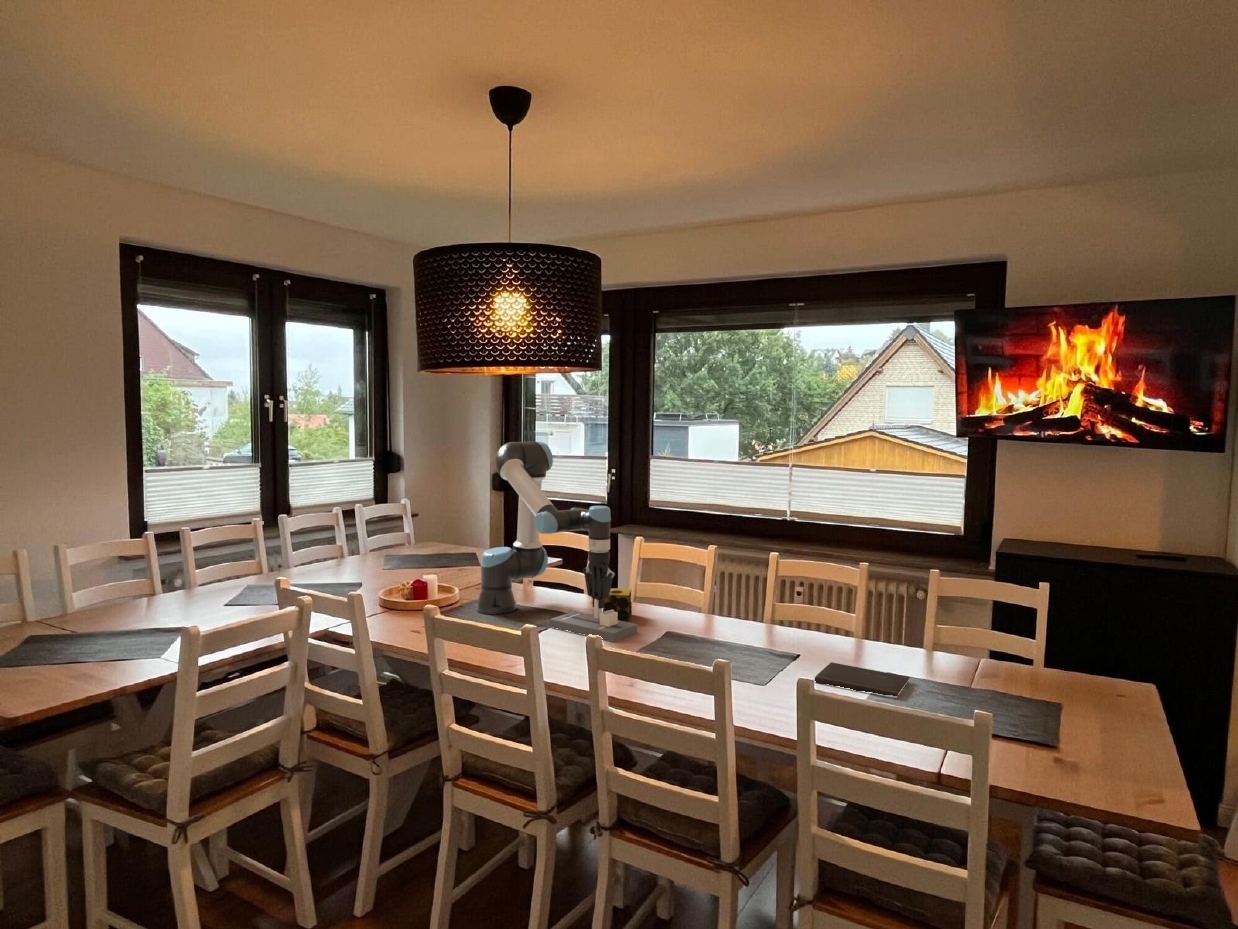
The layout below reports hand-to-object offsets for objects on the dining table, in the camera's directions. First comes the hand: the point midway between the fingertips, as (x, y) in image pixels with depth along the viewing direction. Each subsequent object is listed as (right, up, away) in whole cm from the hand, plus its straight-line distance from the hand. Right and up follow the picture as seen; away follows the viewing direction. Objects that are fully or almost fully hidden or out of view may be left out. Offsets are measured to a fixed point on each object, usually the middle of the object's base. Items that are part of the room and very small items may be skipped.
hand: (597, 617), depth 270 cm
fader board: (-2, -5, +1) cm, 5 cm away
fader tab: (+4, -2, -3) cm, 5 cm away
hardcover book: (+78, -11, -47) cm, 91 cm away
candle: (+7, -4, +19) cm, 20 cm away
